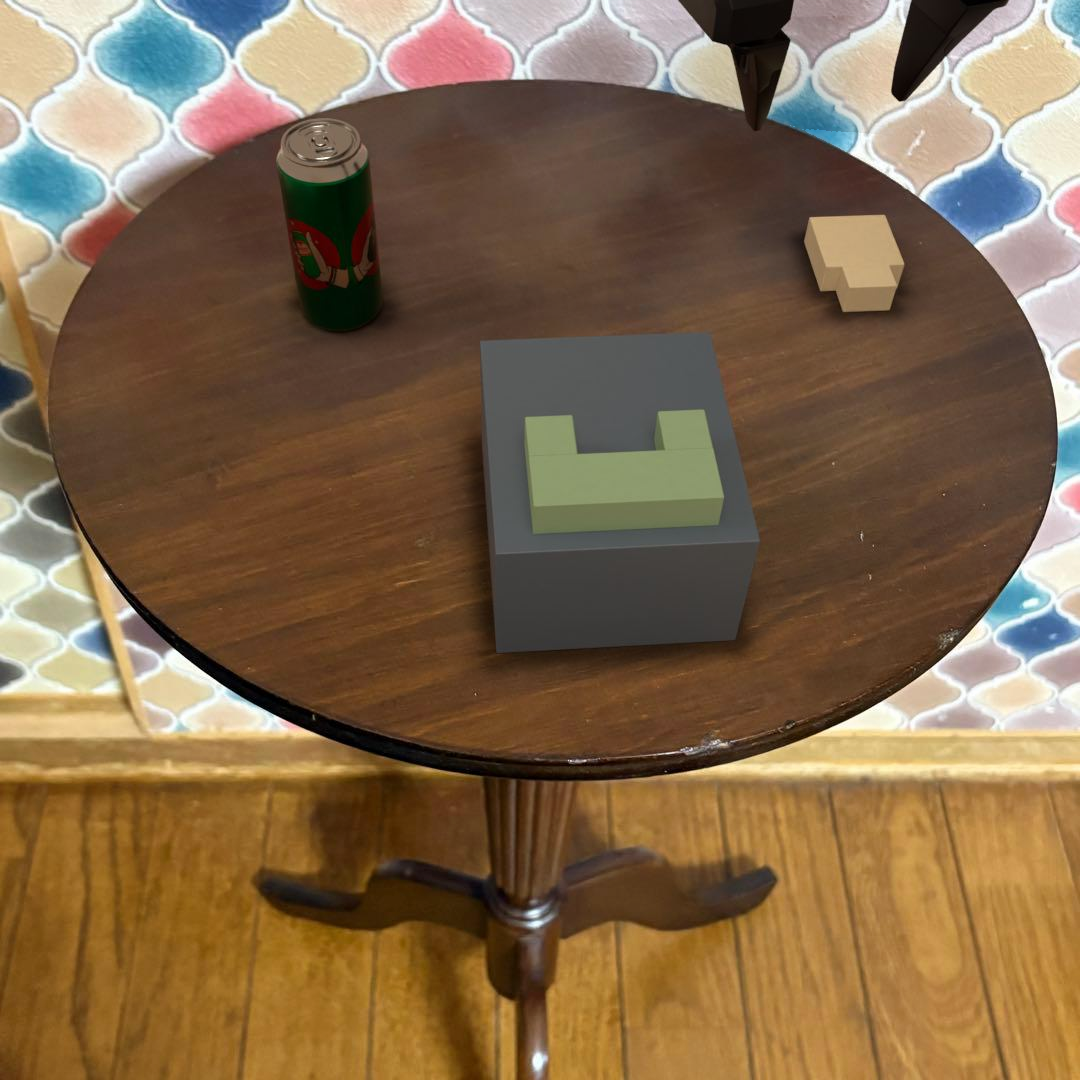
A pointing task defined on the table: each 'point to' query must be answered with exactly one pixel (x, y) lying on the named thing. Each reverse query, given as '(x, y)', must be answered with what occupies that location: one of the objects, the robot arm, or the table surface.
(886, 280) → the cream pad
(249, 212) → the table surface
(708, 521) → the green pad
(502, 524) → the block
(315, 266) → the soda can
